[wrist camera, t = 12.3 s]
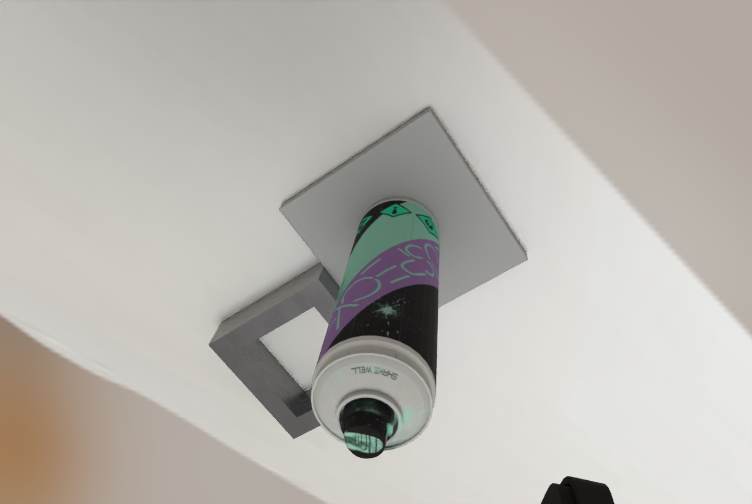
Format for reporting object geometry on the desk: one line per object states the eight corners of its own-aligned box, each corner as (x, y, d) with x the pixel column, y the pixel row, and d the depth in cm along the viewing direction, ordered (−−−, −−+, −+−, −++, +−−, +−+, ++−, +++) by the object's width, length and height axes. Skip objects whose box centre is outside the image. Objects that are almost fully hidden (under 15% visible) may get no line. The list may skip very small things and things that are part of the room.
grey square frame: (221, 322, 49) (208, 344, 47) (325, 259, 46) (318, 279, 44) (301, 413, 53) (293, 438, 50) (404, 359, 49) (402, 384, 47)
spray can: (454, 248, 44) (459, 467, 26) (385, 283, 45) (344, 511, 28) (413, 181, 42) (388, 366, 24) (342, 219, 44) (269, 419, 26)
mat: (282, 204, 45) (278, 209, 44) (430, 106, 41) (429, 110, 40) (382, 331, 48) (380, 338, 47) (526, 253, 44) (527, 259, 44)
